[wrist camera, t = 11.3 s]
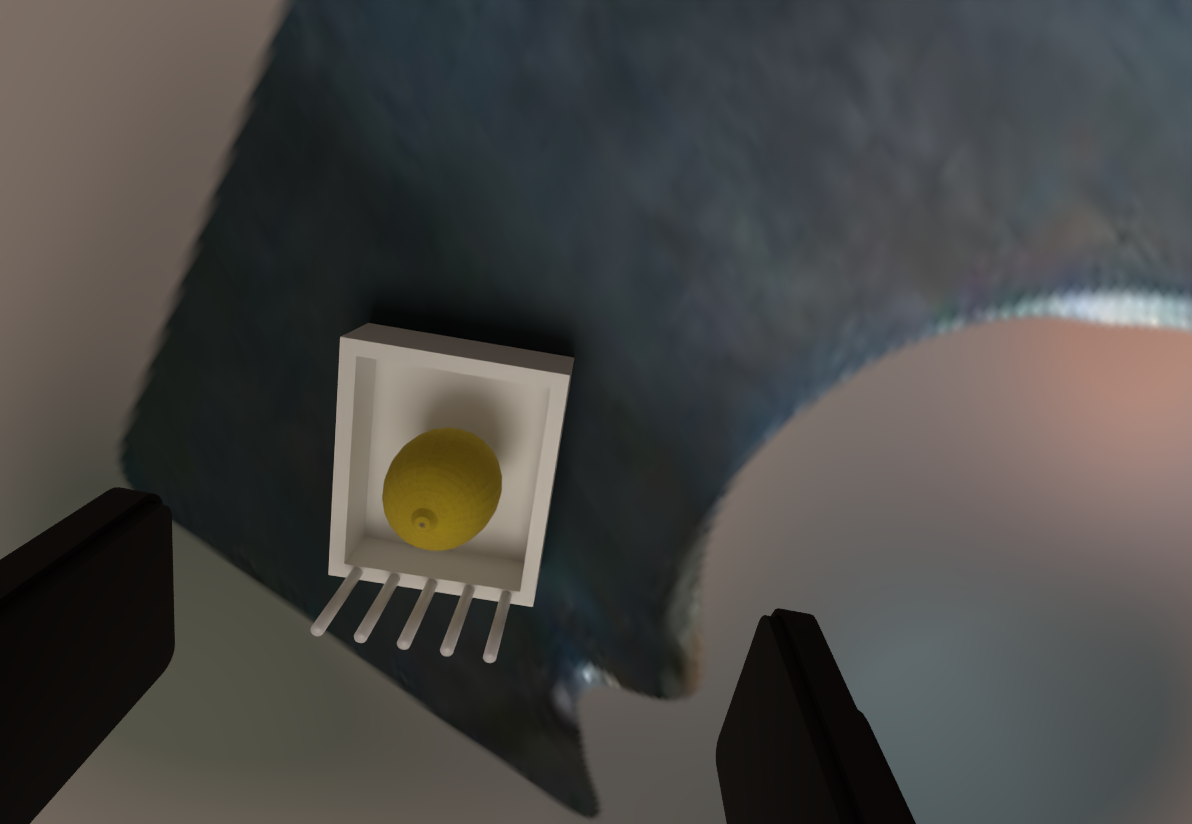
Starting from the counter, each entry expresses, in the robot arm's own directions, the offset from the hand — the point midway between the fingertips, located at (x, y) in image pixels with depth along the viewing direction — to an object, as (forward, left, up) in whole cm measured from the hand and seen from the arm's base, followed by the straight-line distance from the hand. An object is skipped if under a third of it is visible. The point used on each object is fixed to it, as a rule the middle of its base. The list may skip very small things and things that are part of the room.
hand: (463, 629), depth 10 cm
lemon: (+8, -5, -25) cm, 27 cm away
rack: (+8, -5, -26) cm, 27 cm away
